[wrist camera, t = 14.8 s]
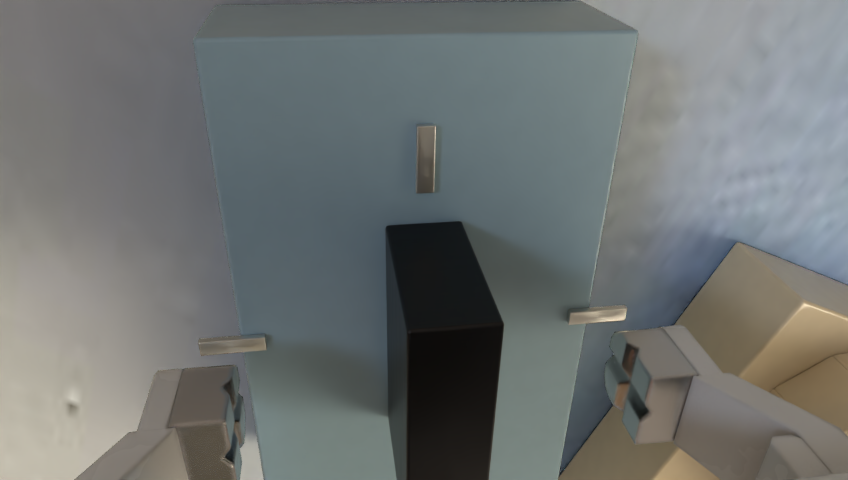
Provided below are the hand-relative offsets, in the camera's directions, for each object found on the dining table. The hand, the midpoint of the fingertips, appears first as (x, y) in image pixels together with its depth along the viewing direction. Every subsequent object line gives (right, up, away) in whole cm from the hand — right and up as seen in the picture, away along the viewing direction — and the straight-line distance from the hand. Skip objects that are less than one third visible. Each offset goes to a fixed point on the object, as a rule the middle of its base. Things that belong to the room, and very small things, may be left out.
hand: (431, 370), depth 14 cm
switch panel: (-1, +2, +4) cm, 4 cm away
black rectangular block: (0, +1, +1) cm, 1 cm away
